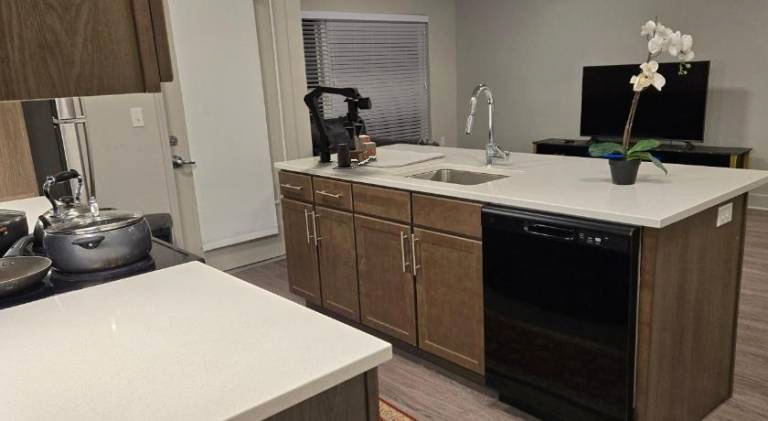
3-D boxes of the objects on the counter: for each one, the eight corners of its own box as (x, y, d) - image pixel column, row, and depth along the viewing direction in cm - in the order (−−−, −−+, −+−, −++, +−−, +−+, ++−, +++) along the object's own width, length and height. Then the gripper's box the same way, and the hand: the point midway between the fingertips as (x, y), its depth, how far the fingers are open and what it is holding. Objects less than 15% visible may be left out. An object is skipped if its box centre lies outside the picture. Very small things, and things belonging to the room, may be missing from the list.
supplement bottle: (345, 165, 311) (343, 142, 308) (353, 166, 306) (352, 143, 303) (335, 167, 306) (333, 144, 303) (343, 168, 302) (342, 145, 299)
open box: (348, 161, 326) (347, 150, 324) (369, 161, 321) (368, 150, 320) (337, 165, 313) (337, 154, 311) (359, 165, 308) (358, 154, 307)
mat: (340, 165, 312) (340, 164, 312) (357, 165, 309) (356, 165, 309) (332, 168, 303) (332, 168, 303) (349, 169, 300) (349, 168, 300)
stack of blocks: (376, 159, 330) (375, 137, 327) (366, 160, 328) (365, 138, 325) (365, 154, 350) (364, 134, 347) (355, 155, 348) (354, 135, 345)
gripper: (345, 109, 328) (347, 136, 332) (332, 112, 311) (334, 140, 314) (364, 108, 324) (365, 136, 328) (351, 111, 307) (353, 140, 311)
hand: (354, 138), depth 320 cm, fingers open, 9 cm apart
